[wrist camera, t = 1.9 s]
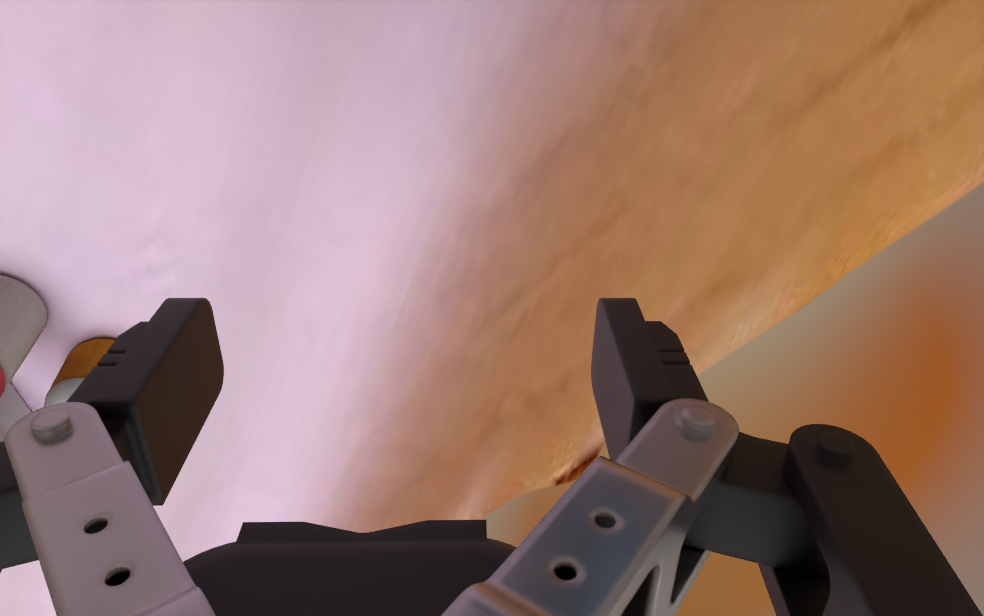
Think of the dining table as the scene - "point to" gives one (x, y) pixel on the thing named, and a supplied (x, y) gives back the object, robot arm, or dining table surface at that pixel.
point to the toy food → (10, 336)
